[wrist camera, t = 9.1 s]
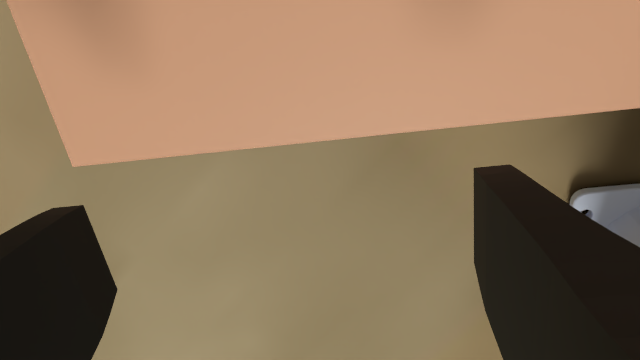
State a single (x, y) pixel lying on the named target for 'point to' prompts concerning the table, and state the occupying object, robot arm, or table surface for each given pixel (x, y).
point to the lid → (317, 68)
